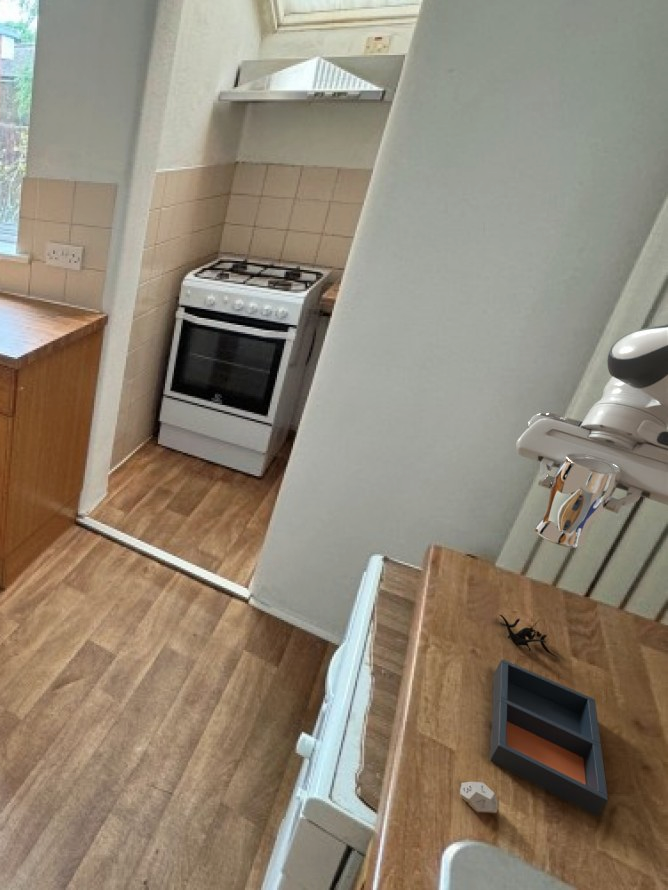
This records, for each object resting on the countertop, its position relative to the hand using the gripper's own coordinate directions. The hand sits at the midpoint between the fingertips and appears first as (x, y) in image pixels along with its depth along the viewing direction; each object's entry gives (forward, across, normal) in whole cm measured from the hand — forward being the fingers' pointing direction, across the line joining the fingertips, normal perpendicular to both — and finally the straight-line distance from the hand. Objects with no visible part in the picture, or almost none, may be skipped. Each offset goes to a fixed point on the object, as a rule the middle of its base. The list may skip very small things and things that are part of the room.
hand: (576, 497), depth 101 cm
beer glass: (+6, 0, +6) cm, 9 cm away
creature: (+25, +3, +7) cm, 26 cm away
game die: (+53, +10, -21) cm, 58 cm away
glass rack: (+40, +10, -8) cm, 42 cm away
